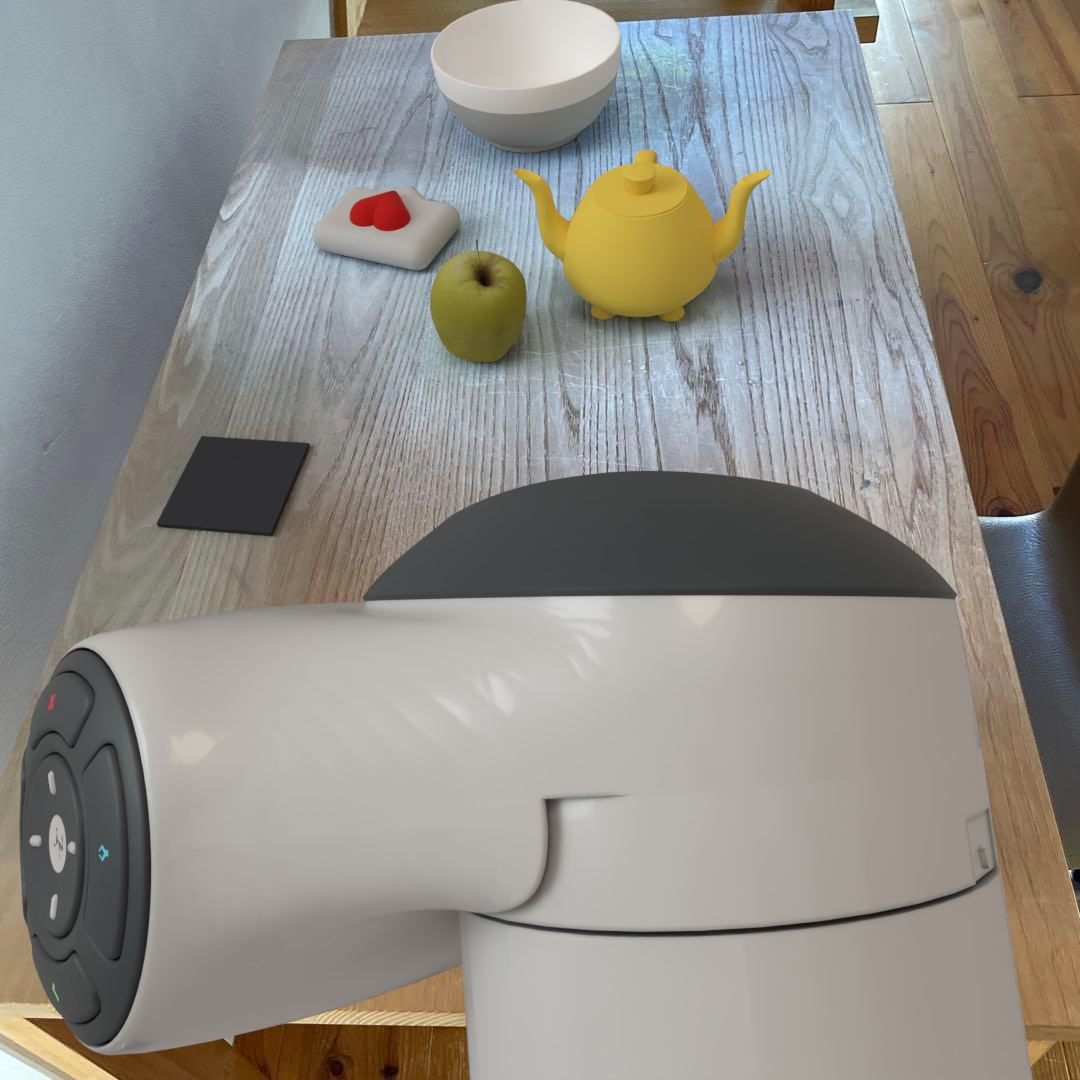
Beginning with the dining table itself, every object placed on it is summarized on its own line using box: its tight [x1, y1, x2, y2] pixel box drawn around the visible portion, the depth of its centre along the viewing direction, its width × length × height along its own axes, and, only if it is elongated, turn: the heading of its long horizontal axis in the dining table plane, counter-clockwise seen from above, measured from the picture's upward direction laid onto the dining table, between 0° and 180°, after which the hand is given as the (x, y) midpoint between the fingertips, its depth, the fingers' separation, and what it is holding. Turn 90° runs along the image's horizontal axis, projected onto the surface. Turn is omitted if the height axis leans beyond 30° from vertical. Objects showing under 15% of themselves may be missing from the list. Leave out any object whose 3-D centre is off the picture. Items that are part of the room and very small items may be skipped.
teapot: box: [513, 148, 772, 322], centre depth 82 cm, size 20×15×12 cm
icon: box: [312, 185, 461, 272], centre depth 92 cm, size 12×4×10 cm
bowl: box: [430, 0, 623, 154], centre depth 101 cm, size 19×19×9 cm
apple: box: [429, 238, 527, 363], centre depth 79 cm, size 8×8×10 cm
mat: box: [156, 435, 311, 537], centre depth 75 cm, size 9×9×1 cm
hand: (771, 716), depth 41 cm, fingers open, 8 cm apart
